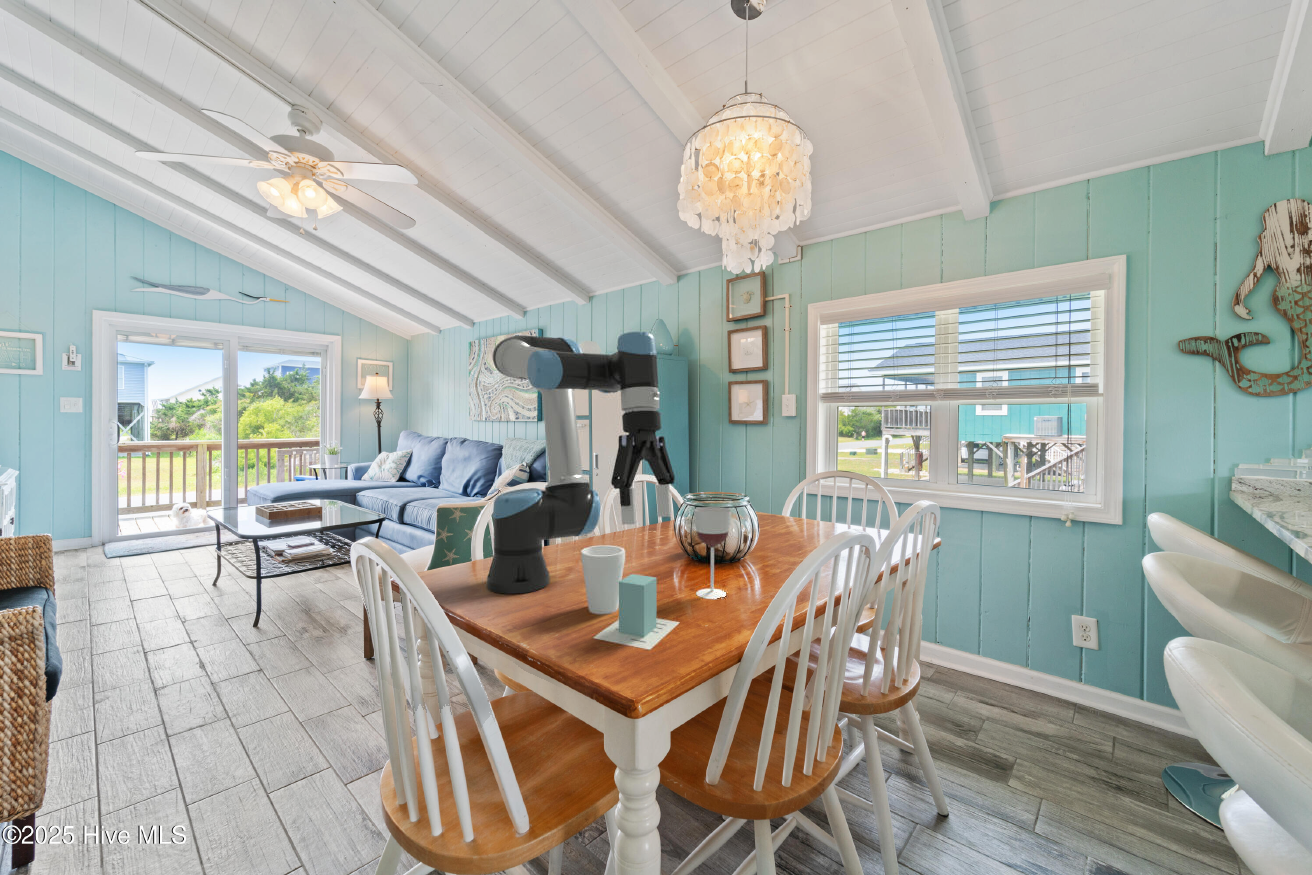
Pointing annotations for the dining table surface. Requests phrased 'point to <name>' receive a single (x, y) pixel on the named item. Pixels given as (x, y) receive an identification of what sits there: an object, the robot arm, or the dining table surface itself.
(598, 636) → the letter
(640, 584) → the block
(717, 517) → the wineglass
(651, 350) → the robot arm
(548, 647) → the dining table surface
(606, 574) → the foam cup
